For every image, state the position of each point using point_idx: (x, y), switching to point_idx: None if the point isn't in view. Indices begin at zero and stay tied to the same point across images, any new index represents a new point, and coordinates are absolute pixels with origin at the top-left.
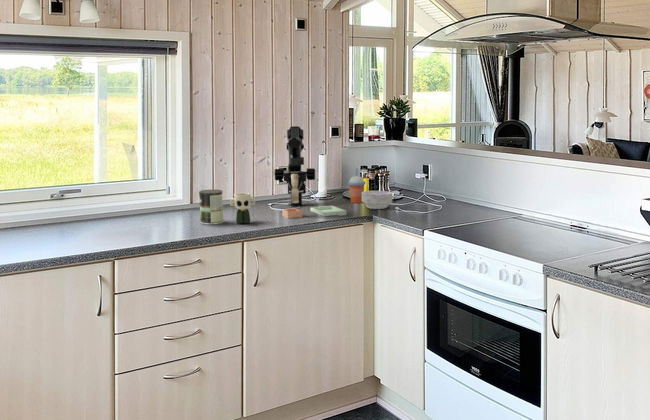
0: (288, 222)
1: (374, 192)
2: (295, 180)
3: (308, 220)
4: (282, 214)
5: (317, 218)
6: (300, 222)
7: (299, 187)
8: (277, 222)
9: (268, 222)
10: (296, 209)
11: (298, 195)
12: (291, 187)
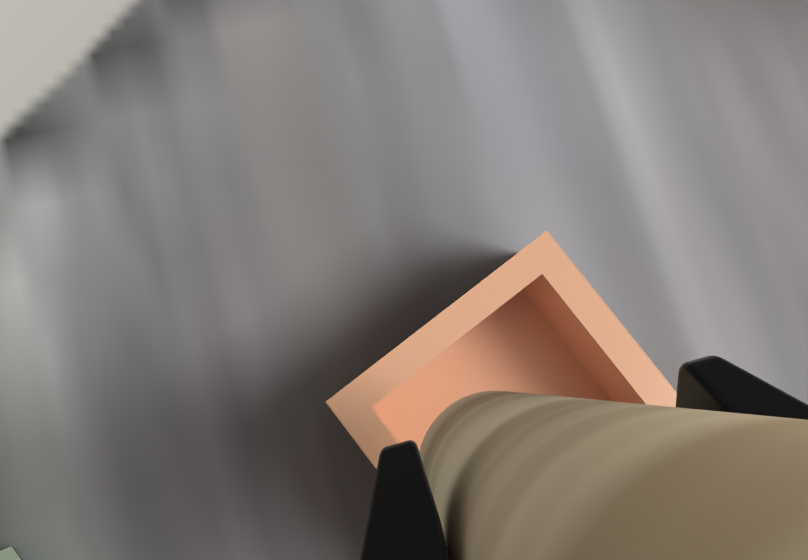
0: (451, 63)
1: None
2: (630, 449)
3: (201, 251)
4: None
5: (95, 432)
6: (282, 90)
7: (376, 471)
8: (602, 38)
9: (723, 19)
10: None
11: None
12: None
